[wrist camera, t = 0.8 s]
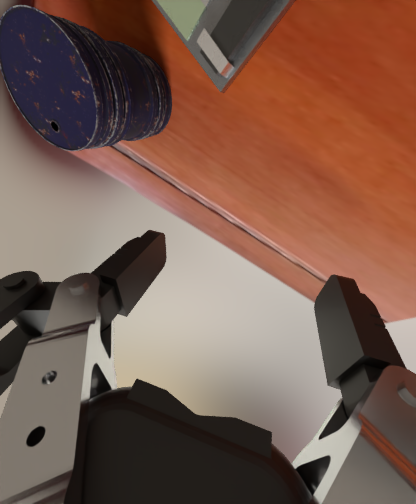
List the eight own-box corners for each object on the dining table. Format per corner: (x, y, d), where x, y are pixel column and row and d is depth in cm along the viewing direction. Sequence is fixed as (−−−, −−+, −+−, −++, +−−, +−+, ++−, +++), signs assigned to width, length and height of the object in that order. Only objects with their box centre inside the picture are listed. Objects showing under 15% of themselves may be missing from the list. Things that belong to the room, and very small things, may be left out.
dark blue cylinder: (111, 38, 26) (-26, -21, 14) (179, 67, 25) (94, 29, 14) (112, 123, 32) (17, 130, 20) (166, 147, 32) (100, 168, 20)
